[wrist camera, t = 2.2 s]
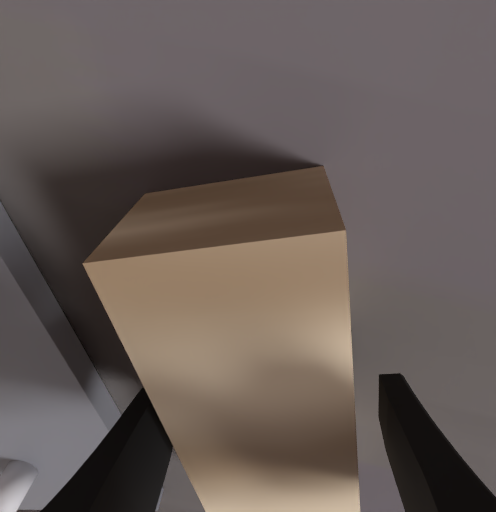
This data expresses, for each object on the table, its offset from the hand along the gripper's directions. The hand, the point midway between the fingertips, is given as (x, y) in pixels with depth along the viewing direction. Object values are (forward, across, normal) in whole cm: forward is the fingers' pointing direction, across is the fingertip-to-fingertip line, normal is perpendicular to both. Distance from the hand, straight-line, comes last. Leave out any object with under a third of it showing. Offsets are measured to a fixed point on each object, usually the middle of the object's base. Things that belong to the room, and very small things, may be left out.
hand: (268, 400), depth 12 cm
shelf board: (+2, 0, 0) cm, 2 cm away
